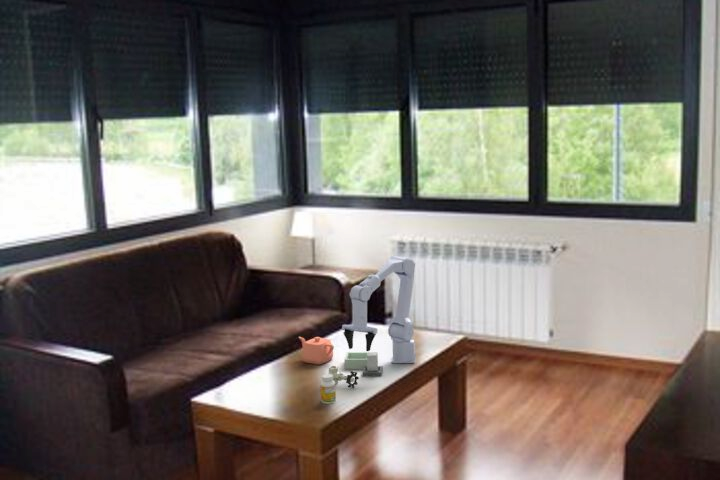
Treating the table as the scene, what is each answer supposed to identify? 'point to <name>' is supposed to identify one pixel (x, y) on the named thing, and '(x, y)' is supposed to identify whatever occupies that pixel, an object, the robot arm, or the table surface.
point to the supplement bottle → (328, 389)
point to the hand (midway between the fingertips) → (359, 349)
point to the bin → (356, 360)
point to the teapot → (317, 350)
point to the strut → (372, 362)
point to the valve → (340, 376)
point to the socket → (372, 372)
